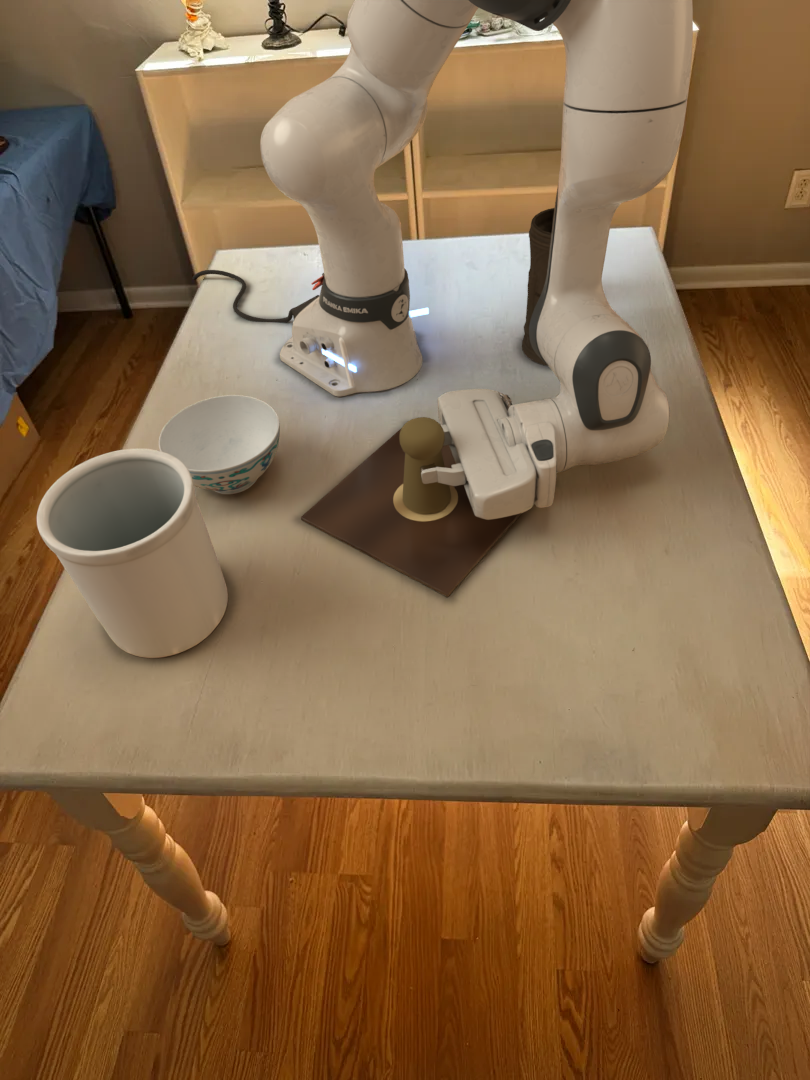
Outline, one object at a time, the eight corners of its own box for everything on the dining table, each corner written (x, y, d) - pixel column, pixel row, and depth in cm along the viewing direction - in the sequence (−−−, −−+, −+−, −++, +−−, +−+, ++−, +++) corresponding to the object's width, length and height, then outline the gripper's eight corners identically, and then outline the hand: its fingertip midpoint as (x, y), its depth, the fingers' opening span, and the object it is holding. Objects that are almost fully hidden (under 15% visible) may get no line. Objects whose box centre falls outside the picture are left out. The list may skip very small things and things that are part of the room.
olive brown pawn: (416, 520, 94) (409, 449, 86) (393, 491, 97) (385, 420, 90) (460, 501, 95) (457, 430, 87) (436, 473, 99) (431, 403, 91)
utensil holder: (208, 672, 82) (157, 560, 69) (77, 658, 84) (6, 547, 71) (250, 566, 92) (213, 451, 79) (132, 556, 94) (78, 443, 81)
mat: (301, 520, 96) (300, 516, 96) (408, 424, 108) (407, 421, 107) (447, 597, 86) (447, 593, 86) (548, 483, 98) (549, 479, 97)
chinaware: (305, 445, 106) (295, 399, 101) (267, 523, 96) (254, 476, 91) (203, 436, 109) (188, 390, 104) (156, 510, 99) (137, 464, 94)
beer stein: (592, 372, 113) (609, 234, 99) (517, 368, 115) (524, 232, 101) (595, 322, 124) (611, 191, 110) (527, 319, 126) (534, 190, 112)
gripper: (506, 369, 98) (397, 388, 97) (559, 474, 84) (433, 498, 83) (505, 409, 102) (402, 428, 101) (555, 516, 88) (436, 539, 87)
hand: (416, 461), depth 92 cm, fingers closed on olive brown pawn, 4 cm apart
